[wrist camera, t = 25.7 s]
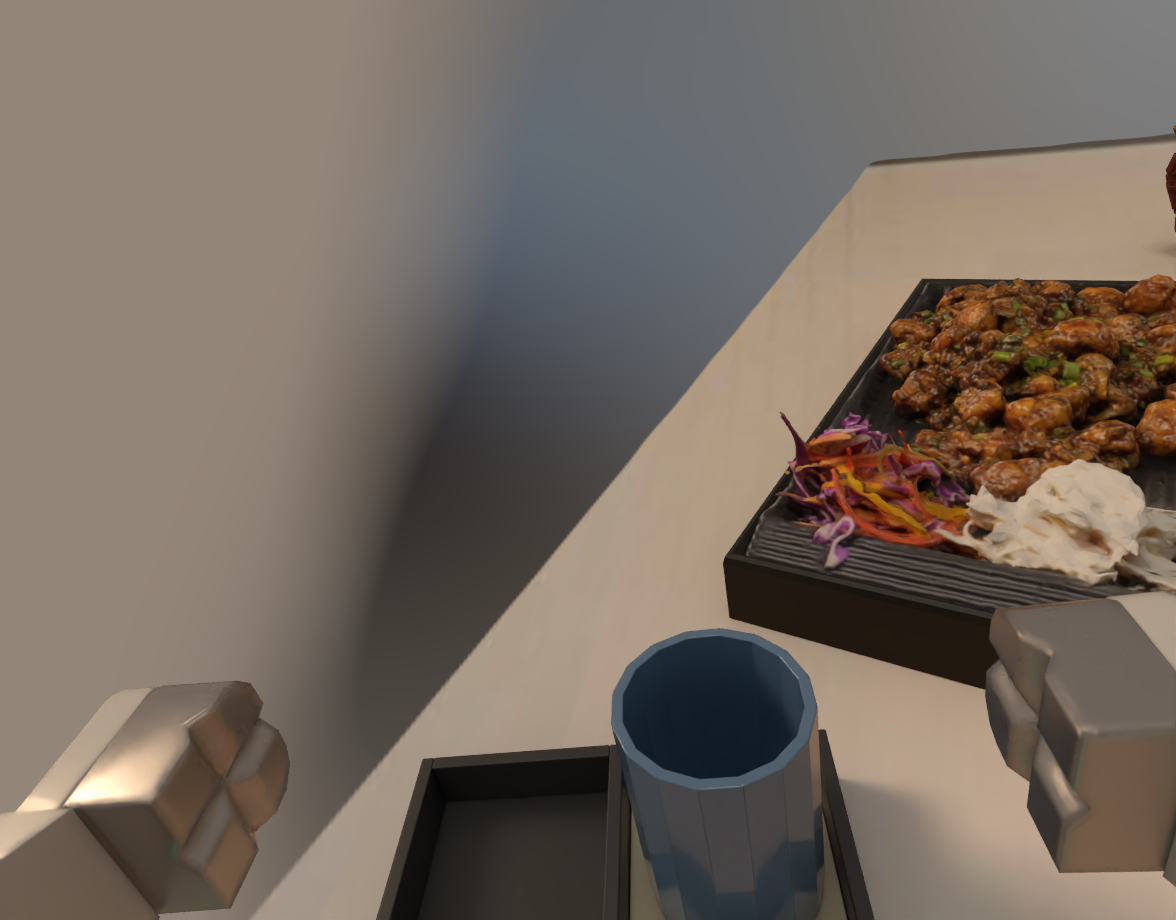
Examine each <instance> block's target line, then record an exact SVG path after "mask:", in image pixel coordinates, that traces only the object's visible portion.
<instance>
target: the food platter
mask: <svg viewBox="0 0 1176 920" xmlns="http://www.w3.org/2000/svg"><path fill="white" fill-rule="evenodd" d="M780 414H781V418H782V419H783V420H784V422H785V423H786V425H787V426H788V428H789V430H790V431H791V433H792V435H793V437H794V441H795V445H796V457H795V459H794V460H793V461H792V462H788V464H789V465H790V466H789V467H788V469H787V470H786V471H785V473H784V474H783V476H782V477H781V479H780V480H779V481H778V483H777V484H776V486H775V487H774V488H773V490H772V491H771V493H770V494H769V496H768V497H767V498H766V500H765V501H764V503H763V504H762V505H761V507H760V508H759V510H758V511H757V512H756V514H755V515H754V517H753V518H752V520H751V521H750V522H749V524H748V525H747V527H746V528H745V529H744V531H743V532H742V534H741V535H740V536H739V538H738V539H737V541H736V542H735V544H734V545H733V546H732V548H731V549H730V551H729V552H728V553H727V555H726V556H725V558H724V562H723V567H724V575H725V584H726V592H727V600H728V608H729V617H730V618H733V619H737V620H740V621H744V622H748V623H751V624H755V625H758V626H762V627H766V628H769V629H773V630H776V631H780V632H783V633H787V634H791V635H794V636H798V637H801V638H805V639H808V640H812V641H816V642H819V643H823V644H826V645H830V646H834V647H837V648H841V649H844V650H848V651H851V652H855V653H859V654H862V655H866V656H869V657H873V658H876V659H880V660H884V661H887V662H891V663H894V664H898V665H902V666H905V667H909V668H912V669H916V670H919V671H923V672H927V673H930V674H934V675H937V676H941V677H944V678H948V679H952V680H955V681H959V682H962V683H966V684H970V685H973V686H977V687H980V688H984V689H986V671H987V670H988V669H989V668H990V667H991V666H992V665H993V664H994V663H995V662H996V661H997V660H998V659H999V656H998V654H997V653H996V651H995V649H994V647H993V645H992V643H991V642H990V640H989V635H990V625H991V619H992V617H993V615H994V613H995V611H996V609H1000V608H1010V607H1019V606H1029V605H1039V604H1049V603H1058V602H1068V601H1078V600H1088V599H1098V598H1101V599H1105V598H1107V597H1112V596H1121V595H1130V594H1139V593H1149V592H1158V591H1166V592H1169V593H1171V594H1173V595H1175V596H1176V281H1174V280H1173V279H1172V278H1171V277H1168V276H1162V275H1155V276H1153V277H1151V278H1149V279H1146V280H1141V281H1085V280H1022V279H1019V278H1017V279H1014V280H991V279H922V280H921V281H920V282H919V284H918V285H917V287H916V288H915V289H914V291H913V292H912V294H911V295H910V296H909V298H908V299H907V301H906V302H905V304H904V305H903V306H902V308H901V309H900V311H899V312H898V313H897V315H896V316H895V318H894V319H893V320H892V322H891V323H890V325H889V326H888V328H887V329H886V330H885V332H884V333H883V335H882V336H881V337H880V339H879V340H878V342H877V343H876V344H875V346H874V347H873V349H872V350H871V352H870V353H869V354H868V356H867V357H866V359H865V360H864V361H863V363H862V364H861V366H860V367H859V368H858V370H857V371H856V373H855V374H854V376H853V377H852V378H851V380H850V381H849V383H848V384H847V385H846V387H845V388H844V390H843V391H842V392H841V394H840V395H839V397H838V398H837V400H836V401H835V402H834V404H833V405H832V407H831V408H830V409H829V411H828V412H827V414H826V415H825V416H824V418H823V419H822V421H821V422H820V424H819V425H818V426H817V428H816V429H815V431H814V432H813V433H812V435H811V436H810V438H809V439H808V440H807V442H806V443H805V442H803V440H802V439H801V438H800V437H799V435H798V434H797V432H796V431H795V430H794V429H793V427H792V426H791V424H790V422H789V420H788V419H787V418H786V416H785V415H784V414H783V413H782V412H780Z"/></svg>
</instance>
